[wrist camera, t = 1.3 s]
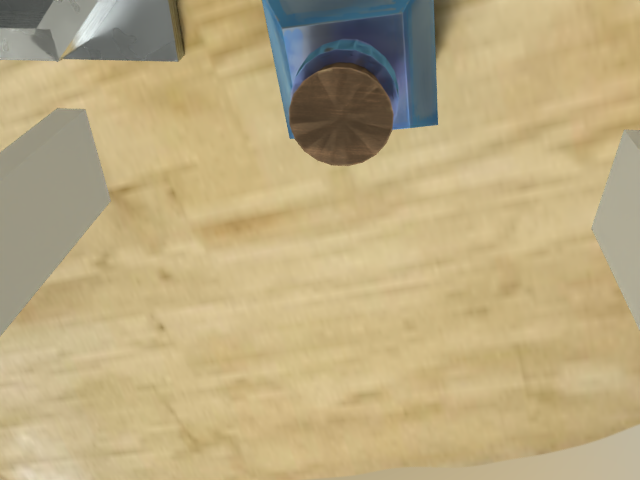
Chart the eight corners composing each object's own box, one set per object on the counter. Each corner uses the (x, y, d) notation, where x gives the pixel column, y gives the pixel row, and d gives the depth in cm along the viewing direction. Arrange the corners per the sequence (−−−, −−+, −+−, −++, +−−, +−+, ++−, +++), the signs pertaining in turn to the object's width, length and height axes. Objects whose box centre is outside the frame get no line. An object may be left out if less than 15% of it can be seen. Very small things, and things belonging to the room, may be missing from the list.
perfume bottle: (308, 86, 29) (262, 212, 19) (286, -46, 25) (216, 26, 15) (430, 73, 27) (448, 199, 18) (425, -68, 24) (443, -5, 14)
